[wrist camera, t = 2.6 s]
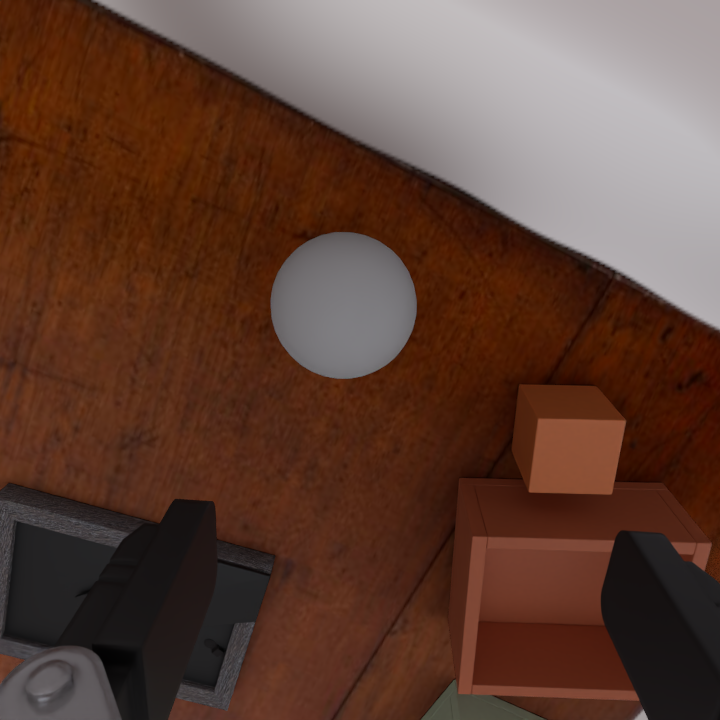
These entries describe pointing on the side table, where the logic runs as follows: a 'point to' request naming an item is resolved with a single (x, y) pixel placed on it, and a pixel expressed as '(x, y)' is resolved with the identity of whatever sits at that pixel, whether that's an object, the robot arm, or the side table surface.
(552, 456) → the block
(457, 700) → the sage bin
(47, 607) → the picture frame
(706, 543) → the terracotta bin
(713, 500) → the side table surface
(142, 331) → the side table surface
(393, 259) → the lightbulb
